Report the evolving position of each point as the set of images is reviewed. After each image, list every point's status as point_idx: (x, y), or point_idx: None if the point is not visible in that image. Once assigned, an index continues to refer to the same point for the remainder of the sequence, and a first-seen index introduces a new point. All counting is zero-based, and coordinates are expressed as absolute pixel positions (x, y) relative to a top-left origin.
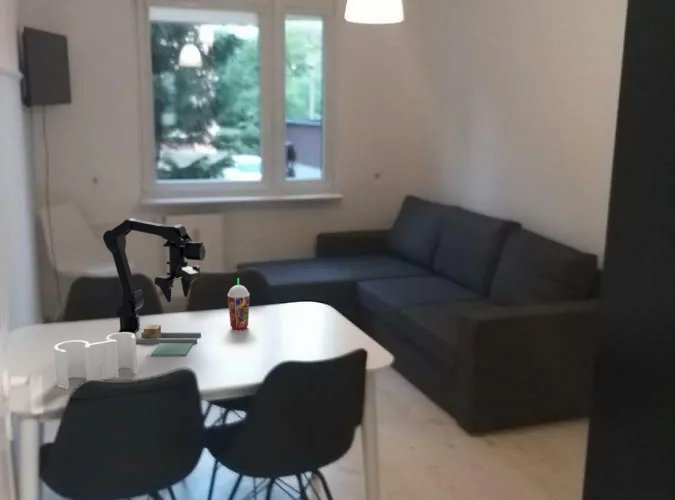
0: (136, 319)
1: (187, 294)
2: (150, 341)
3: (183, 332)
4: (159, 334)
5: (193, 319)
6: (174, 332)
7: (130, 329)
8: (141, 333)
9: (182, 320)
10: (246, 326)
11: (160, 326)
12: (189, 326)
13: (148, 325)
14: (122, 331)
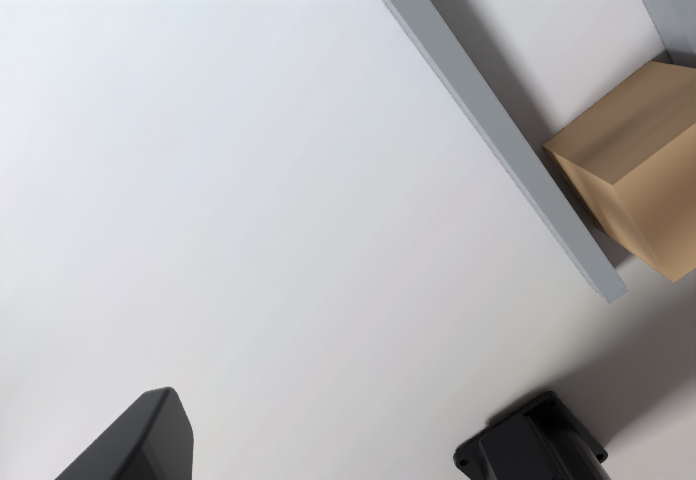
0: (562, 477)
1: (129, 422)
2: None
3: (402, 7)
4: (617, 119)
5: (10, 381)
6: (460, 87)
7: (566, 427)
8: (625, 288)
9: (109, 412)
10: None
11: (611, 173)
12: (154, 240)
13: (684, 257)
14: (595, 439)
